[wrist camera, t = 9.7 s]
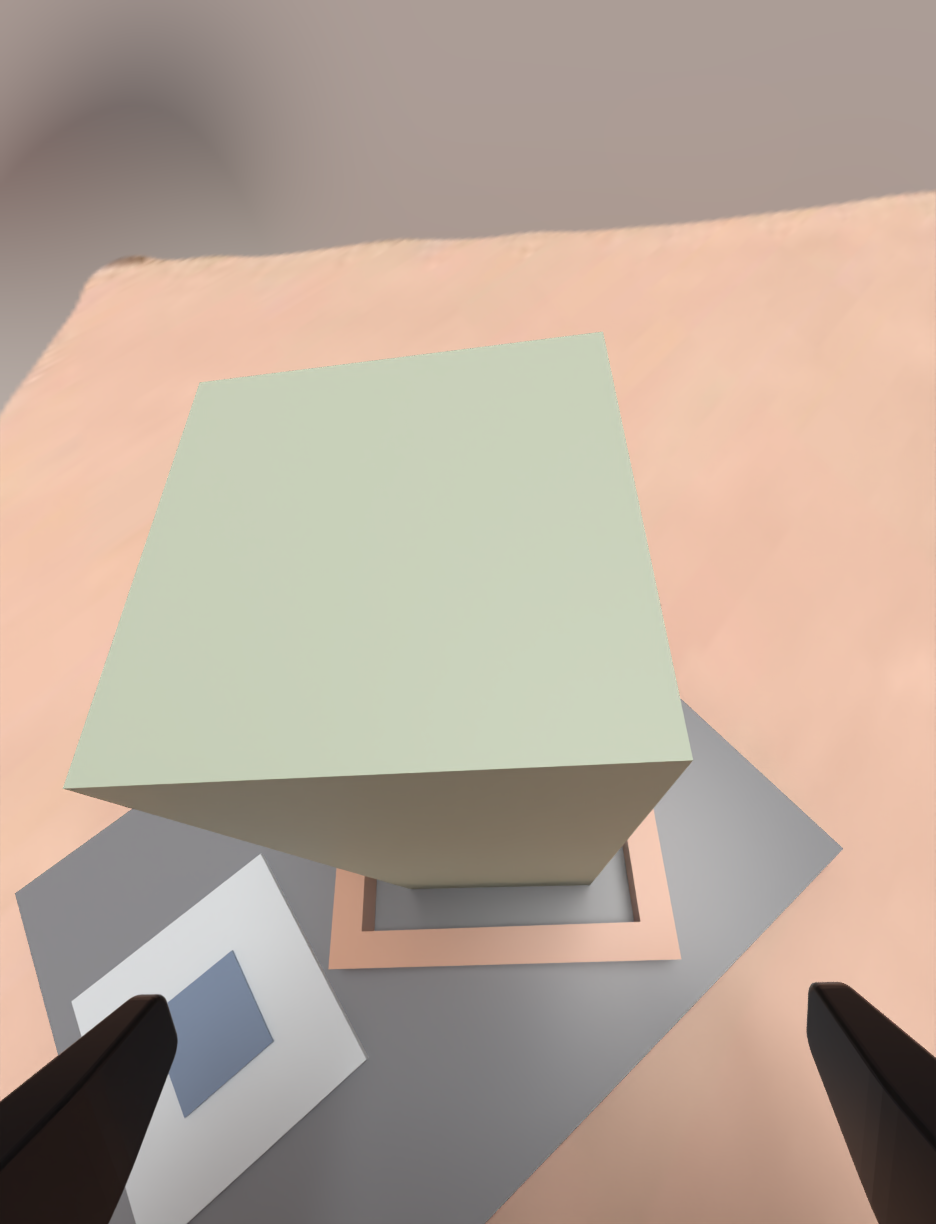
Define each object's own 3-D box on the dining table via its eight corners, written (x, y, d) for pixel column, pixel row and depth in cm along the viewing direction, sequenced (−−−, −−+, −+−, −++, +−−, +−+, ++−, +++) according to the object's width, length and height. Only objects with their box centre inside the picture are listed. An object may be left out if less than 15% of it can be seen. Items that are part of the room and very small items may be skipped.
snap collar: (672, 957, 14) (681, 959, 13) (343, 967, 15) (328, 969, 14) (617, 651, 19) (621, 635, 17) (363, 672, 19) (353, 657, 18)
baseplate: (218, 1482, 12) (177, 1549, 11) (45, 895, 18) (7, 893, 17) (824, 854, 16) (848, 847, 15) (509, 556, 22) (506, 533, 21)
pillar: (589, 885, 15) (692, 759, 4) (410, 888, 16) (63, 787, 5) (571, 709, 18) (602, 332, 7) (415, 718, 18) (200, 382, 7)
